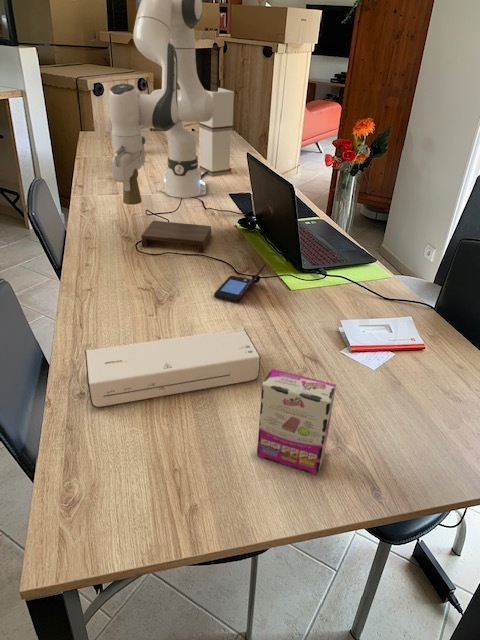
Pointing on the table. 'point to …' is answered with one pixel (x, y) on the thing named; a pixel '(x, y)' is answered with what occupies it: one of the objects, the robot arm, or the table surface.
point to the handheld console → (235, 288)
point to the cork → (132, 191)
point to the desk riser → (177, 233)
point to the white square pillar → (217, 135)
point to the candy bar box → (294, 420)
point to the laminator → (170, 367)
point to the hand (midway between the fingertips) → (131, 187)
